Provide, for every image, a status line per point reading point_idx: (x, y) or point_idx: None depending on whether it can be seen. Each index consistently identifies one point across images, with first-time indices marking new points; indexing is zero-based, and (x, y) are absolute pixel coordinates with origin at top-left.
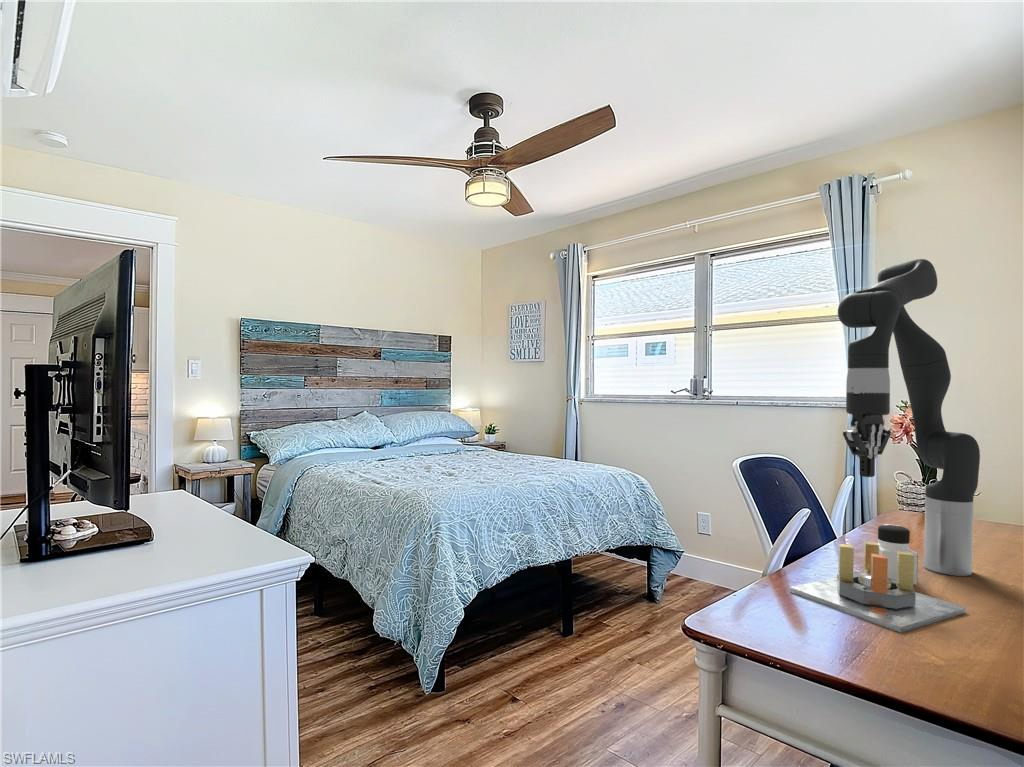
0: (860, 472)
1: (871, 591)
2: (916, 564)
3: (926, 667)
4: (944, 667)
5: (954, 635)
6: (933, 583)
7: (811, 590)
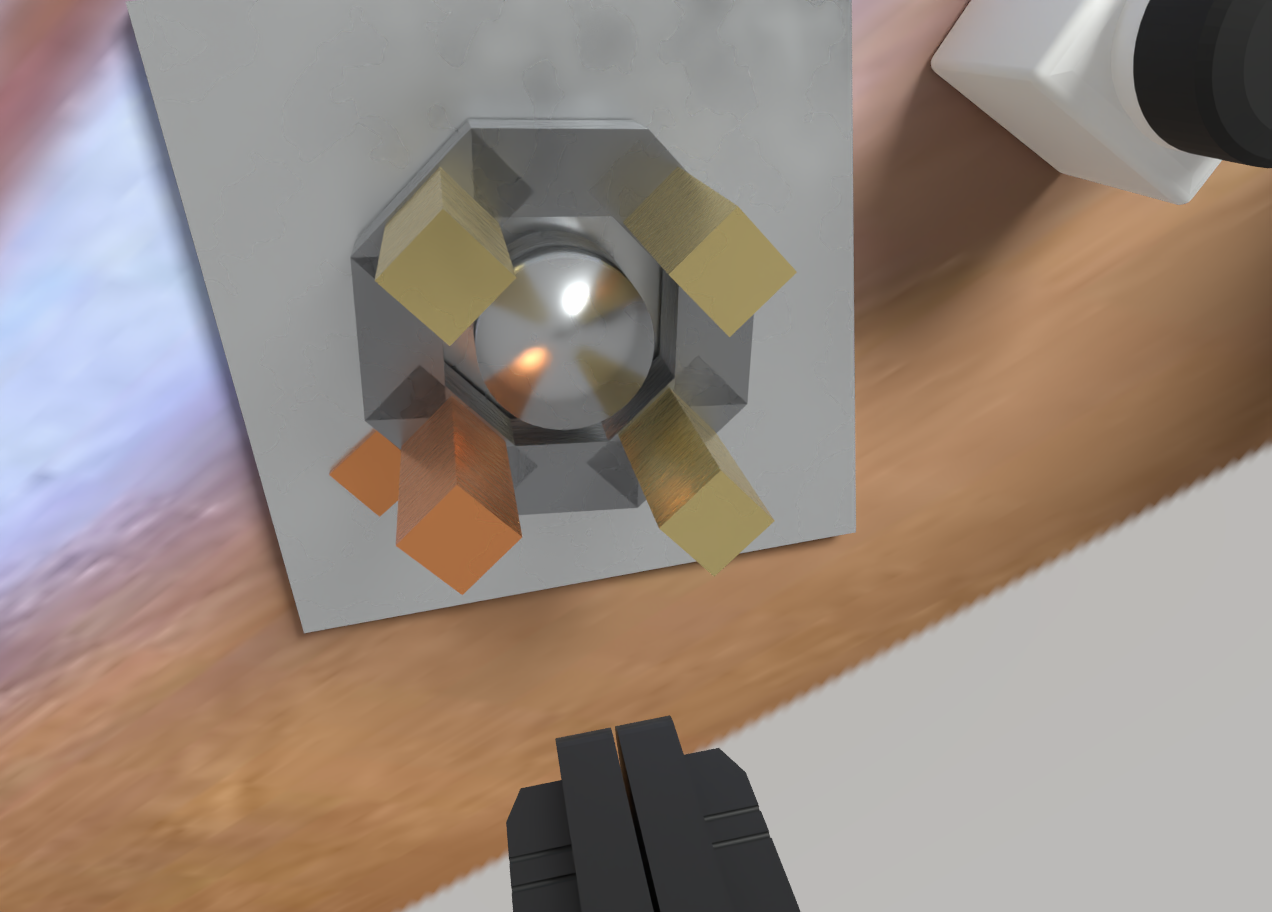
0: (517, 811)
1: (402, 439)
2: (1130, 191)
3: (119, 844)
4: (192, 852)
5: (526, 675)
6: None
7: (240, 109)
